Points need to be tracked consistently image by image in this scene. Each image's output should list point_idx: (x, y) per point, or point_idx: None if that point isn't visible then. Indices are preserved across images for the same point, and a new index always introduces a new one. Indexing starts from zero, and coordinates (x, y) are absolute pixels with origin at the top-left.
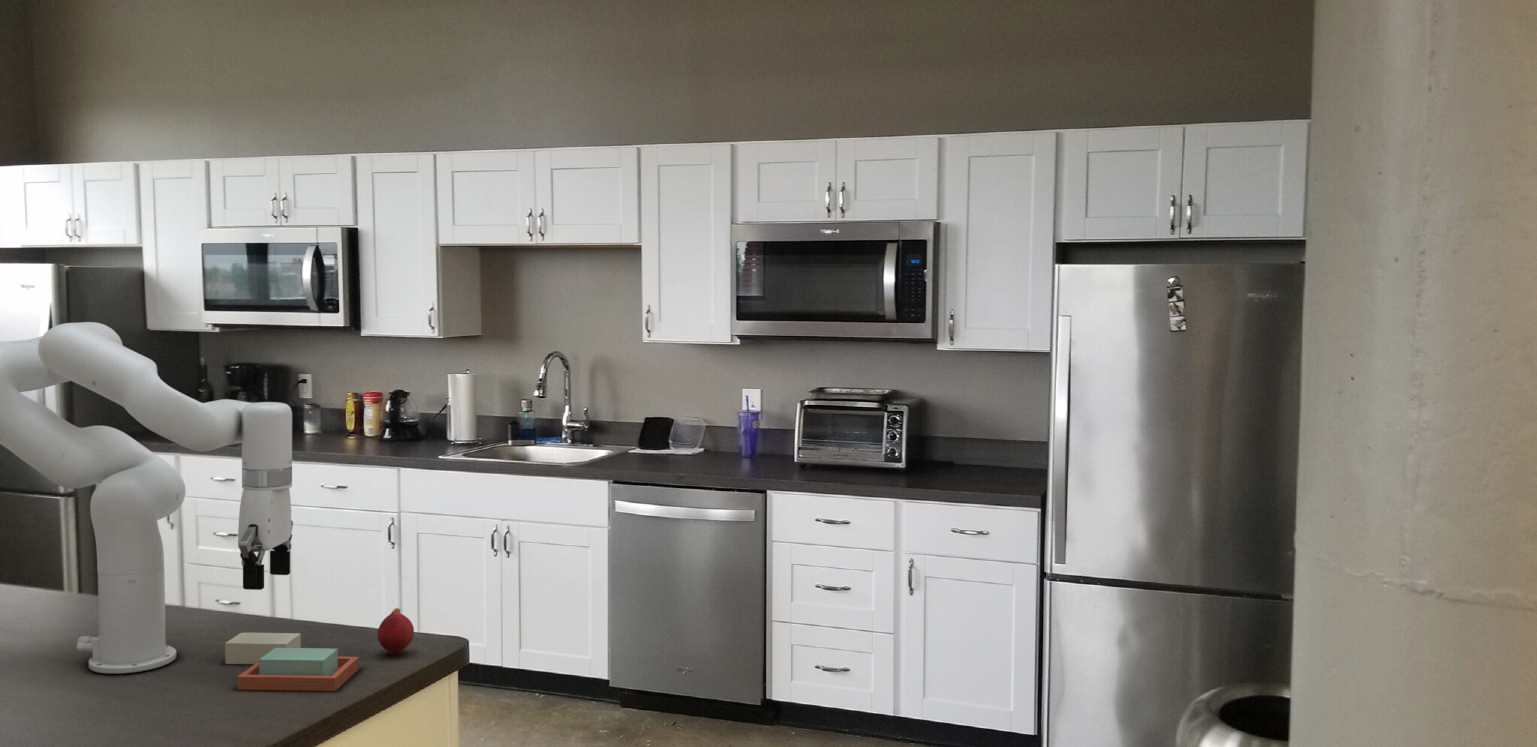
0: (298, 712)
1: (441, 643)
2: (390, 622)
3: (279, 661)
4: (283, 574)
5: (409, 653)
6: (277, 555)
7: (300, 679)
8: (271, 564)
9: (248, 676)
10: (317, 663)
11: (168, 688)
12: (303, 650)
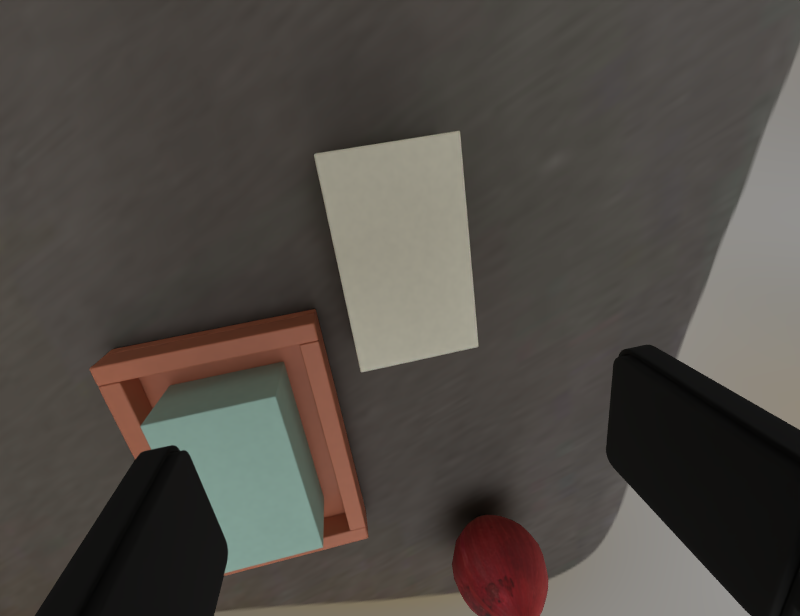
0: (43, 567)
1: (564, 550)
2: (484, 611)
3: None
4: (607, 435)
5: None
6: (751, 520)
7: None
8: (675, 405)
9: (106, 398)
10: None
11: (10, 121)
12: (277, 484)
